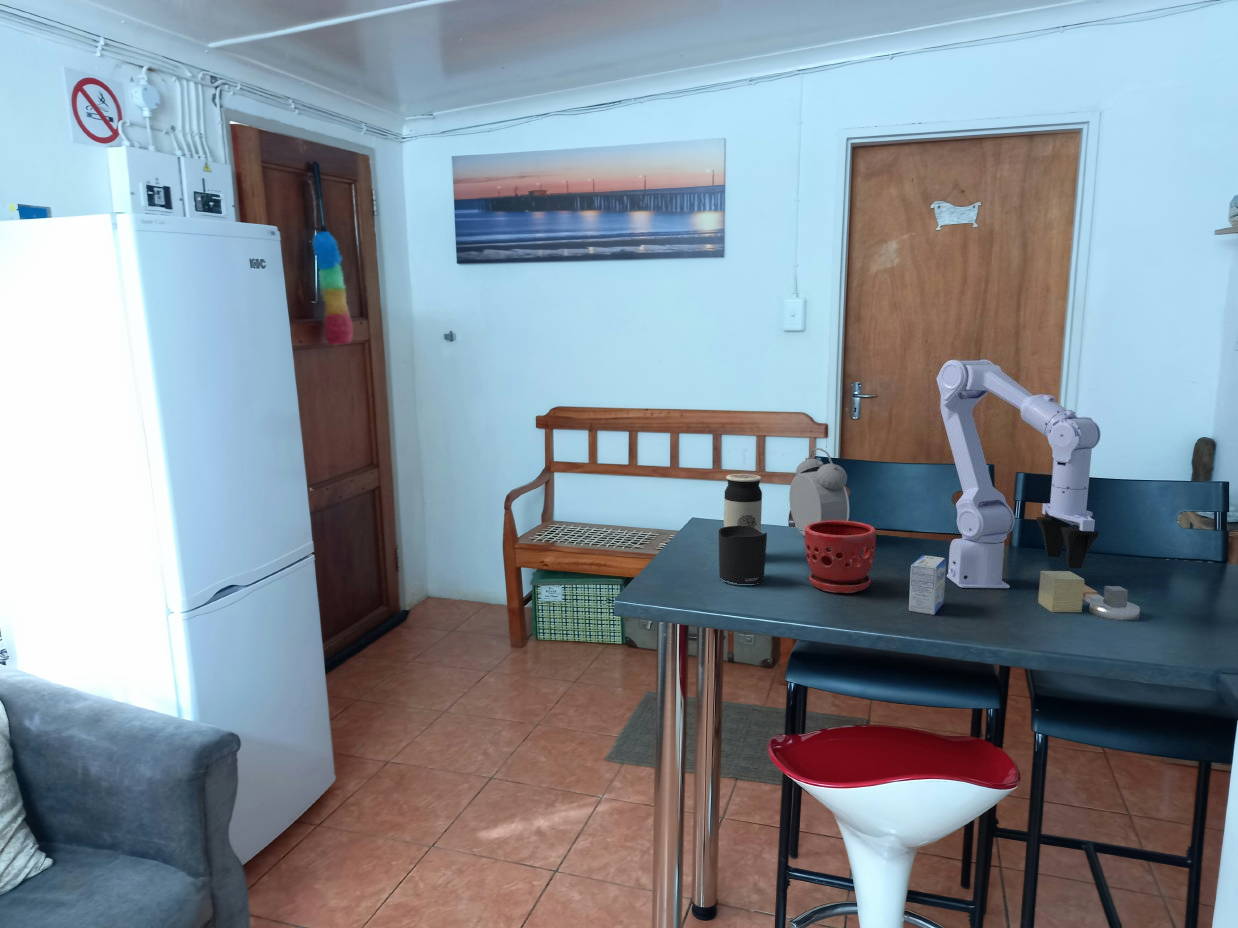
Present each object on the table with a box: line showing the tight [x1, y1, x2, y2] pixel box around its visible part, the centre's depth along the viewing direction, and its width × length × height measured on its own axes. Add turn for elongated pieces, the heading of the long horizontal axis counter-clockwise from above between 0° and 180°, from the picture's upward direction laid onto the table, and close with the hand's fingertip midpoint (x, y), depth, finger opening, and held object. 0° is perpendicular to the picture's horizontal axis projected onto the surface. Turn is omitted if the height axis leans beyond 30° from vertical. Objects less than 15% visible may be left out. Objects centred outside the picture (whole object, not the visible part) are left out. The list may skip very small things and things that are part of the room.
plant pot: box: [804, 520, 877, 595], centre depth 164 cm, size 13×13×12 cm
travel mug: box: [723, 473, 763, 533], centre depth 185 cm, size 8×8×18 cm
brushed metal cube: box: [1037, 570, 1085, 613], centre depth 153 cm, size 5×5×6 cm
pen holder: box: [718, 526, 768, 584], centre depth 168 cm, size 9×9×10 cm
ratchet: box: [1083, 584, 1141, 622], centre depth 155 cm, size 18×8×5 cm, turn 179°
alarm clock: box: [788, 447, 850, 537], centre depth 202 cm, size 16×9×22 cm, turn 17°
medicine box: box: [908, 555, 947, 616], centre depth 152 cm, size 8×4×9 cm, turn 148°
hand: (1063, 562), depth 152 cm, fingers open, 7 cm apart
